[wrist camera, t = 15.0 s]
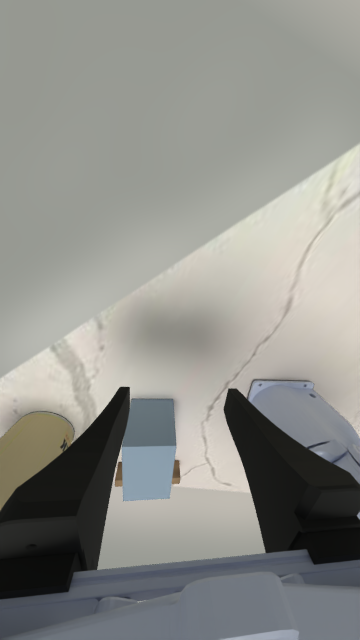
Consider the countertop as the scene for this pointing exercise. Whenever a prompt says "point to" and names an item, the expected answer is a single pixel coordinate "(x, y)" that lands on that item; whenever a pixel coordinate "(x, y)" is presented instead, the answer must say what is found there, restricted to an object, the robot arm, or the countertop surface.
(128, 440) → the blue-grey rectangular block
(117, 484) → the brown rectangular block
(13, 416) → the countertop surface
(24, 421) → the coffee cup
